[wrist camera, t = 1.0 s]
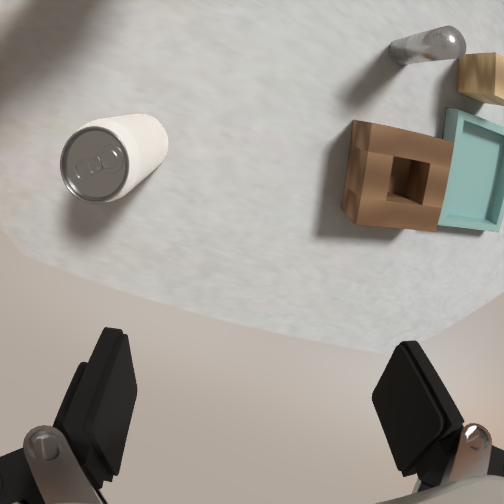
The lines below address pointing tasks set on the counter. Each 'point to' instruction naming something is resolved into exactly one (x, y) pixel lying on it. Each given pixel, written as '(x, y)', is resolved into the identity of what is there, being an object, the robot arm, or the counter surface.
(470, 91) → the oak block
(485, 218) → the tray
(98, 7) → the counter surface
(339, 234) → the counter surface
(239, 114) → the counter surface
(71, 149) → the can
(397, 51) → the cylinder
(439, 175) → the bore block
